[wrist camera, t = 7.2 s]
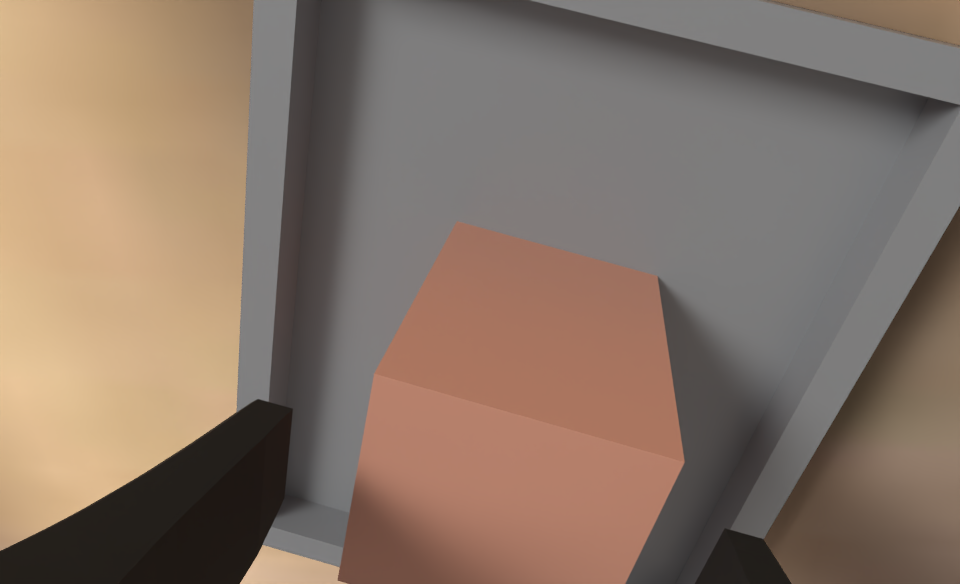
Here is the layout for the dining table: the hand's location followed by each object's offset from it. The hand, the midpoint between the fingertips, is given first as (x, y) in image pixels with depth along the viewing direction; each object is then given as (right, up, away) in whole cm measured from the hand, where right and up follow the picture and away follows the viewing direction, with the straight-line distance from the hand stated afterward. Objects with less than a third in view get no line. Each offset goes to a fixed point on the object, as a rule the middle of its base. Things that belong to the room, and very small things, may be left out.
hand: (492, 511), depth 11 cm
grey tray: (+1, +3, +5) cm, 6 cm away
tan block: (+1, +3, +5) cm, 6 cm away
